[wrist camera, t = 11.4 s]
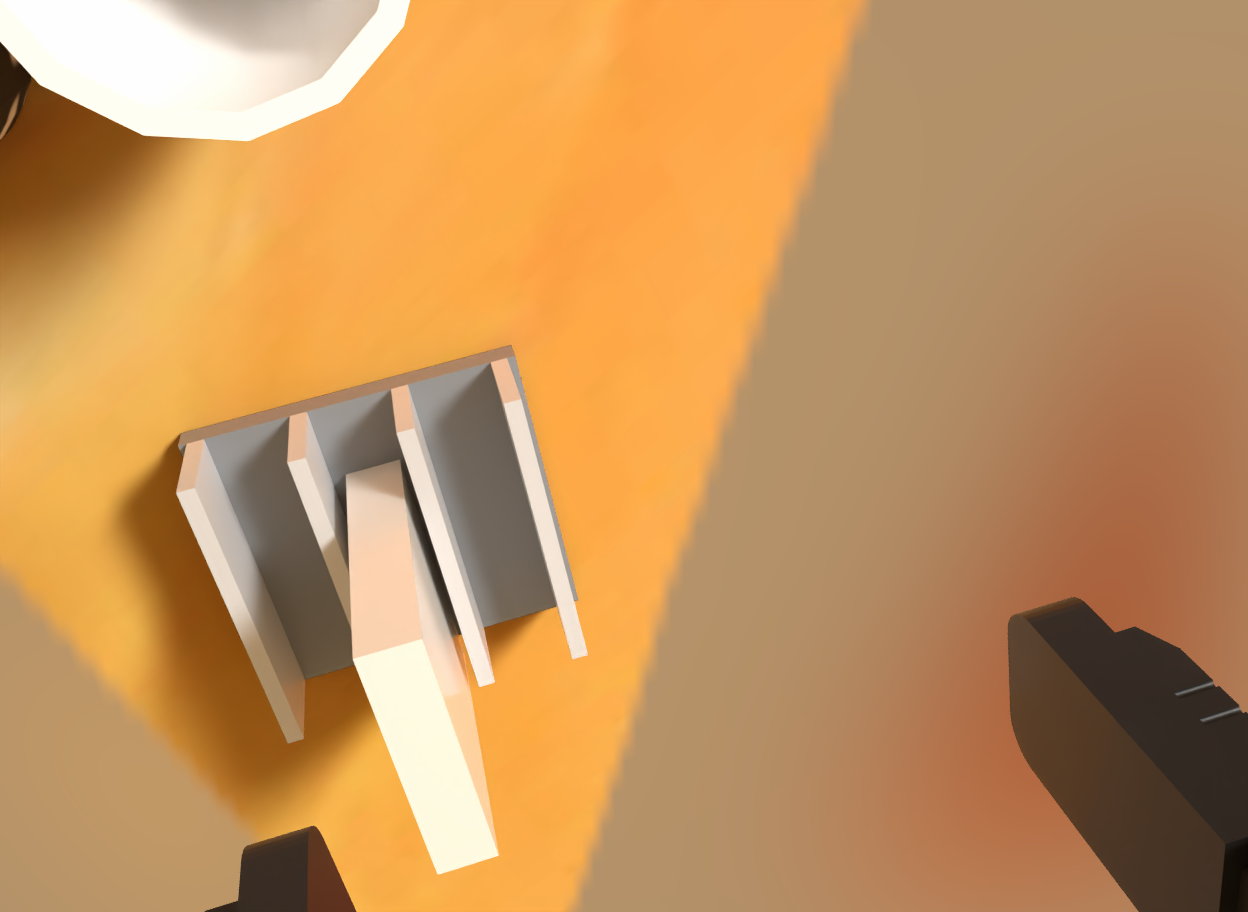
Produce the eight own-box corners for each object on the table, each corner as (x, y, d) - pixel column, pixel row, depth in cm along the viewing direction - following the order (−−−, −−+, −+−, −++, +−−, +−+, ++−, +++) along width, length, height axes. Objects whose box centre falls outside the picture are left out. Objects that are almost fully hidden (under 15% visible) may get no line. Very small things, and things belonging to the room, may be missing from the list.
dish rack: (180, 433, 42) (166, 495, 38) (511, 345, 43) (529, 396, 39) (283, 670, 47) (279, 745, 43) (573, 586, 49) (595, 652, 45)
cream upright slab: (345, 474, 43) (352, 659, 33) (399, 459, 43) (422, 638, 34) (414, 664, 47) (437, 874, 38) (463, 649, 48) (498, 855, 38)
